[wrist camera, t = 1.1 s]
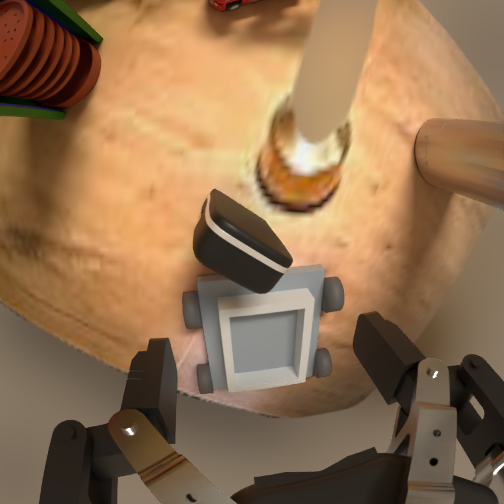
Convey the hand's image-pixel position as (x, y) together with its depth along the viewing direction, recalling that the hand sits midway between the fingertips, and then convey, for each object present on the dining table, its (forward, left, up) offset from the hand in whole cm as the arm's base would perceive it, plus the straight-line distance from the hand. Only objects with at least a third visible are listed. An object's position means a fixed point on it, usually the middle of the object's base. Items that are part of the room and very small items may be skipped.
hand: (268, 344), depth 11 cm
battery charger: (0, 0, -20) cm, 20 cm away
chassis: (-3, +14, -19) cm, 24 cm away
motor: (+17, -18, -20) cm, 31 cm away
